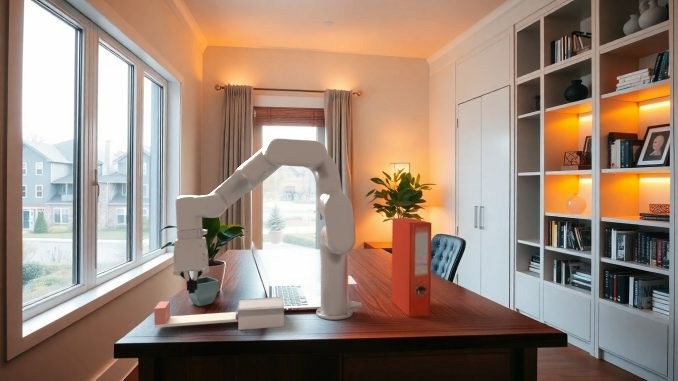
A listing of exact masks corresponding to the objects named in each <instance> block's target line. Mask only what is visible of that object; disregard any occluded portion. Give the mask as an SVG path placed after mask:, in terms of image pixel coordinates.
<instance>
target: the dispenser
mask: <svg viewBox="0 0 678 381" xmlns="http://www.w3.org/2000/svg"><path fill="white" fill-rule="evenodd" d="M235 312H236V320H238V321H237V322H238V324H237V325H238V326H237V327H238V330H239V331H240V330H241V331H242V330H243V331H245V330H253V329H267V328H280V327H285V306H284V302H283V299H282V296H273V297H256V298H254V297H253V298H243V299H239V300H238V306H237V307H236V310H235Z"/></svg>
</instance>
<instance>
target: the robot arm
mask: <svg viewBox="0 0 678 381" xmlns="http://www.w3.org/2000/svg"><path fill="white" fill-rule="evenodd" d="M282 166H284V167H285V166H286V167H302V168H303V167H304V168H305V169H308V170H310V172H312V174H313V176H314V181H315V186H316V194H317V195H316V196H317V208H318V212H319V214H320V215H321V216H322V218H323V217H324V224H325V225H324V226H323V227H322V228H321V230H320V232H319V238H318V240H319V241H318V243H319V250H320V253H319V254H320V307H318V308H317V309H316V312H315V313H316V316H318V317H319V318H321V319H324V320H331V321H332V320H333V321H335V320H344V319H348V318H350V317H352V316H353V313H354V312H353V309H361V308H363V304H362V301H361V302H360V301H356V300H353V301H350V300H349V285H348V276H349V253H350V252H351V251H352V250H353V249H354V247H355V244H356V240H357V239H356V238H357V237H356V227H355V218H354V210H353V205H352V204H353V203H352V202H351V200H350V198H349V197H348V196H347V195H346V194H345V193H343V191H342V190H343V189H342V182H341V176H340V172H339V169H338V166H337V163H336V162H335V160H334V159H333V158H332V156H330V155H329V154H328V150H327V147H326V146H325V145H324V144H323V143H322V142H320V141H317V140H308V139H291V138H279V137H278V138H273V139H271V140H269V142H268V143H266V145H264V146H263V147H262V148H261V149H259V150H258V151H257V152H256V153H254V155H252V156H251V157H250V158H249V159H248V160H245V162H243V163H242V164H241V165H240V166H239V167H237V169H235V171H234V172H233V173H232V174H231V176H229V177H228V178H227V179H226V180H225V181H224V182H222V183H221V184H220V185H219V186H218V187H216V188H215V189H214V190H213V191H212V192H210V193H209V194H205V195H196V194H194V195H193V194H190V195H189V194H187V195H186V194H185V195H179V196H177V197H176V198H175V218H176V220H175V221H176V239H174V245H173V257H172V258H173V260H172V261H173V263H172V265H173V266H172V267H173V272H172V273H173V276H177V277H181V278H182V279H184V281H186V292H188V290H189V294H191V293H195V291H196V290H197V289H198V286H197V279H198V278H201V277H200V276H202V275H204V274H208V273H210V266H209V252H208V243H207V239H206V237H205V236H204V235H207V234H208V229H204V228H203V218H208V219H209V218H210V219H215V218H216V219H217V218H219V217H221V216H222V215H223V214H224V213H225V211H226V210H228V209H229V208H230V207H231V206H232V205H233V204H234V203H236V202H237V201H238V200H239V199H241V198H242V197H243V196H244V195H246V194H248V193H249V192H252V191H253V190H255V189H256V188H258V186H260V185H261V184H262V183H263V182H265V180H268V178H269V177H270V176H271V175H272V174H275V172H276V171H278V170H279V169H280V168H281V167H282ZM190 272H193V276H191V273H190ZM189 294H188V295H189Z"/></svg>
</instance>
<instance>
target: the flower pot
mask: <svg viewBox="0 0 678 381" xmlns="http://www.w3.org/2000/svg"><path fill="white" fill-rule="evenodd" d="M197 286H198V289H197V290H196V291H195V293H191V294H189V290H188V291H187V294H188V297H189V299H190V301H191V302H192V304H194V305H196V306H197V307H202V306H207V305H210V304H211V305H212V303H213V302H214V300H215V299H216V297H217V294H218V290H219V279H216V278H213V277H211V276H203V277H199V278H198V279H197Z"/></svg>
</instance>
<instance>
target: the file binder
mask: <svg viewBox="0 0 678 381" xmlns="http://www.w3.org/2000/svg"><path fill="white" fill-rule="evenodd" d="M391 223H392V226H391V227H392V233H391V234H392V235H391V236H392V237H391V242H392V244H391V303H392V304H394V305H395V306H396V307H397V308H398V309H399V310H401V311H402V312H403V313H404V314H405V315H407V316H408V317H410V318H413V317H414V318H415V317H428V316H431V293H432V292H431V289H432V288H431V282H432V275H431V274H432V222H431V221H430V222H429V221H426V220H421V219H416V218H411V217H404V218H403V217H398V218H397V217H394V218H392V222H391Z"/></svg>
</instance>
